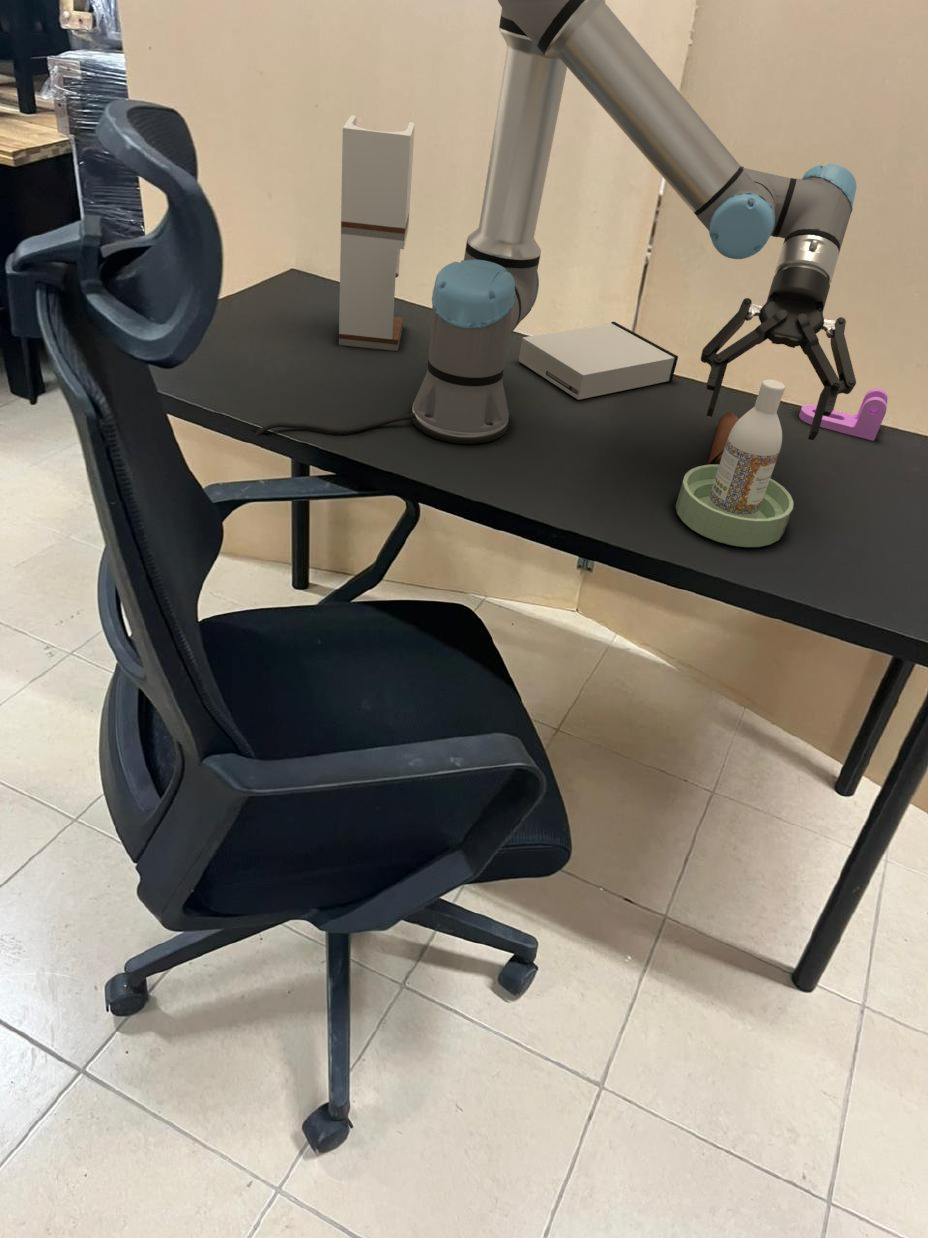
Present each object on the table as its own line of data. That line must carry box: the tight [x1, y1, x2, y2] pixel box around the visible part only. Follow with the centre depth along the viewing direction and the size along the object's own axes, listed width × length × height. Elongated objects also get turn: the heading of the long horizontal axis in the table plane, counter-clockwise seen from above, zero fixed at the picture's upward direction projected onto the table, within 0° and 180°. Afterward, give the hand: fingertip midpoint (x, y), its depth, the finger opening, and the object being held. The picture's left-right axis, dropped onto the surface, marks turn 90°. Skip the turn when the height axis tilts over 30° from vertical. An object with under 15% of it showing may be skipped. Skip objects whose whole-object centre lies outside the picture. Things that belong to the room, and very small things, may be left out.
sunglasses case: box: [707, 411, 740, 465], centre depth 142 cm, size 18×7×7 cm, turn 162°
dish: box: [675, 464, 795, 548], centre depth 126 cm, size 15×15×4 cm
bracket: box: [798, 387, 888, 442], centre depth 155 cm, size 13×6×7 cm, turn 67°
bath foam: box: [707, 379, 786, 519], centre depth 121 cm, size 7×7×20 cm
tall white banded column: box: [338, 114, 416, 352], centre depth 156 cm, size 11×11×35 cm
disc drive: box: [518, 321, 679, 401], centre depth 163 cm, size 18×22×5 cm
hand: (760, 424), depth 120 cm, fingers open, 13 cm apart
